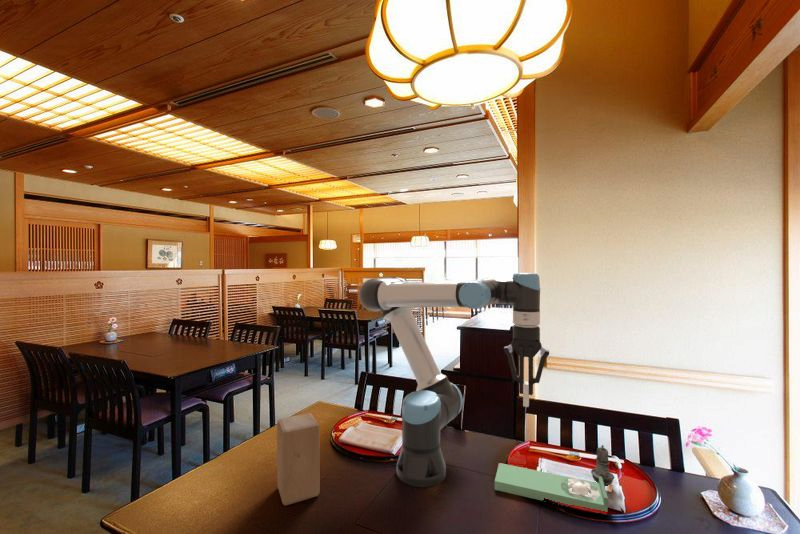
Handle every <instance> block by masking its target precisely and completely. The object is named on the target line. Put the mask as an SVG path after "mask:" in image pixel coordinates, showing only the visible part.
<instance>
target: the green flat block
mask: <svg viewBox="0 0 800 534" xmlns="http://www.w3.org/2000/svg"><path fill="white" fill-rule="evenodd" d="M578 482H579V483H582V484H584V485H585V486H586V487H587V489H588V492H589V493H590V495H586V496H583V495H578V494H576V493H574V492H572V491H571V490H570V488H572V486H573V485H574V484H575V483H578ZM494 491H500V492H502V493H507V494H513V495H516V496H520V497H525V498H529V499H534V500H538V501H542V502H544V501H543V500H544V498H545V499H549V500H552V501H555V502H560V503H564V504H568V505H575V506H580V507H586V508H590V509H596V510H601V511H605V512H608V511H609V509H608V508H609V507H608V505H609V502H608V500H609V497H608V494H607V492H606V490H605V486H604V482H603V478H602V477H601V476H599V483H596V482H593V481H591V480H586V479H582V478H581V479H580V478H575V477H570V476H565V475H560V474H557V473H553V472H547V471H541V470H537V469H530V468H526V467H522V466H521V467H520V466H516V465H511V464H505V463H500V462H498V466H497V471H496V474H495V478H494ZM608 513H609V512H608Z"/></svg>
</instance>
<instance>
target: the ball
mask: <svg viewBox="0 0 800 534" xmlns="http://www.w3.org/2000/svg"><path fill="white" fill-rule="evenodd" d="M572 492H574V493H576V494H578V495H583V496H586V495H588V489H587V487H586V486H585V485H584V484H582V483H579V482H578V483H575V484H574V485H573V486H572Z"/></svg>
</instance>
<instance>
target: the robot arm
mask: <svg viewBox="0 0 800 534" xmlns="http://www.w3.org/2000/svg"><path fill="white" fill-rule="evenodd" d="M540 283H541V282H540V276H539V274H538V273H534V272H515V273H513V274H512V278H509V279H505V278H504V279H500V278H478V279H475V280H461V281H460V280H459V281H458V280H457V281H433V282H432V281H430V282H429V281H427V282H407V281H406V280H405V279H403V278H402V277H395V276H389V277H374V278H370V279H367V280H366V281H364V282H363V283H362V285H361V286H360V288H359V291H358V301H359V302H360V304H361V306H362V307H363V308H364V309H366V310H368V311H370V312H381V315H382V318H383V319H384V320H387V321H388V322H389V323H390V325H391V328H392V329H393V331H394V334H395V336H396V339H397V341H398V342H399V345H400V347H401V349H402V351H403V354H404V355H405V358H406V360H407V363H408V364H409V366H410V370H411V371H412V373H413V376H414V378H415V380H416V383H417V386H416V390H415V391H412V392H410V393H408V394H407V395H406V396H405V397H404V398H403V400H402V407H401V422H402V423H401V429H402V430H401V432H402V433H401V434H402V435H401V441H402V443H401V444H402V445H401V449H400V453H399V456H398V459H397V462H396V476H397V478H398V479H399V480H400V481H401V482H402V483H404V484H406V485H408V486H411V487H414V488H415V487H416V488H429V487H434V486H436V485H439V484H440V483H442V482H444V480H445V479H446V477H447V466H446V465H447V464H446V462H445V459H444V456H443V453H442V450H441V430H442V429H444V427H445V426H447V425H448V424H449V423H450V422H451V421H453V420H455V418H456V417H458V415H459V414H460V412H461V411H462V408H463V403H464V400H463V394H462V392H461V390H460V389H459V387H458V386H457V385H456V384H454V383H453V382H450V380H449V379H448V376H447V375H446V374H443V373H442V372H440V370H439V368H438V365H437V363H436V361H435V359H434V357H433V355H432V353H431V351H430V348H429V346H428V344H427V342H426V340H425V338H424V336H423V334H422V332H421V329H420V327H419V325H418V322H417V321H416V319H415V317H414V315H413V312H412V309H413V308H468V309H472V310H477V309H482V308H484V307H487V306H490V305H494V304H498V305H499V304H501V305H512V323H513V325H512V341H511V342H510V344H509V345H506V346H504V347H503V352H504V353H505V355H506V356H507V360H508V361H507V362H508V365H509V369H510V374H511V377H512V380H513V381H515V382H518V385H519V386H518V392H519V394H520V395H522V397H523V398H522V401H523V402H522V406H523V407H525V408H529V406H530V396H533V395H534V384H539V383H540V381H541V377H542V374H543V369H544V367H545V362H546V360H547V358H548V357H549V355H550V350H549V349H546V348H544V346H542V343H541V327H540V326H539V325H541V311H540V310H541V309H540V308H541V306H540V305H541V284H540ZM513 350H514V352H515V353H516V354H517V356H518V361H519V362H518V363H519V364H518V372H517V367H516V364H515V359H514V357H513ZM538 352H540V353H539V355H540V360H539V363H538V366H537V367H538V368H537V370H536V375H535V377H534V357H536V355H537V354H538ZM525 358H528V359H527V361H528V371H527V372H528V380H527V381H525Z"/></svg>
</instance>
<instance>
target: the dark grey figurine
mask: <svg viewBox="0 0 800 534" xmlns="http://www.w3.org/2000/svg"><path fill="white" fill-rule="evenodd" d="M594 460H595V461H596V466H595V468H592V469H591V470H590V473H591V476H592V478H593V481H596V482H597V483H599V476H601V477H602V478H603V482H604V486H608V485H612V484H613V482H614V479H615V475H614V474H613V473H612V472H610V470H609V468H610V467H609V465H610V463H611V462H610V461H609V450H608V449H607V448H605V446H604V445H603V444H601V446H599V447H597V448H596V457H595V459H594Z"/></svg>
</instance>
